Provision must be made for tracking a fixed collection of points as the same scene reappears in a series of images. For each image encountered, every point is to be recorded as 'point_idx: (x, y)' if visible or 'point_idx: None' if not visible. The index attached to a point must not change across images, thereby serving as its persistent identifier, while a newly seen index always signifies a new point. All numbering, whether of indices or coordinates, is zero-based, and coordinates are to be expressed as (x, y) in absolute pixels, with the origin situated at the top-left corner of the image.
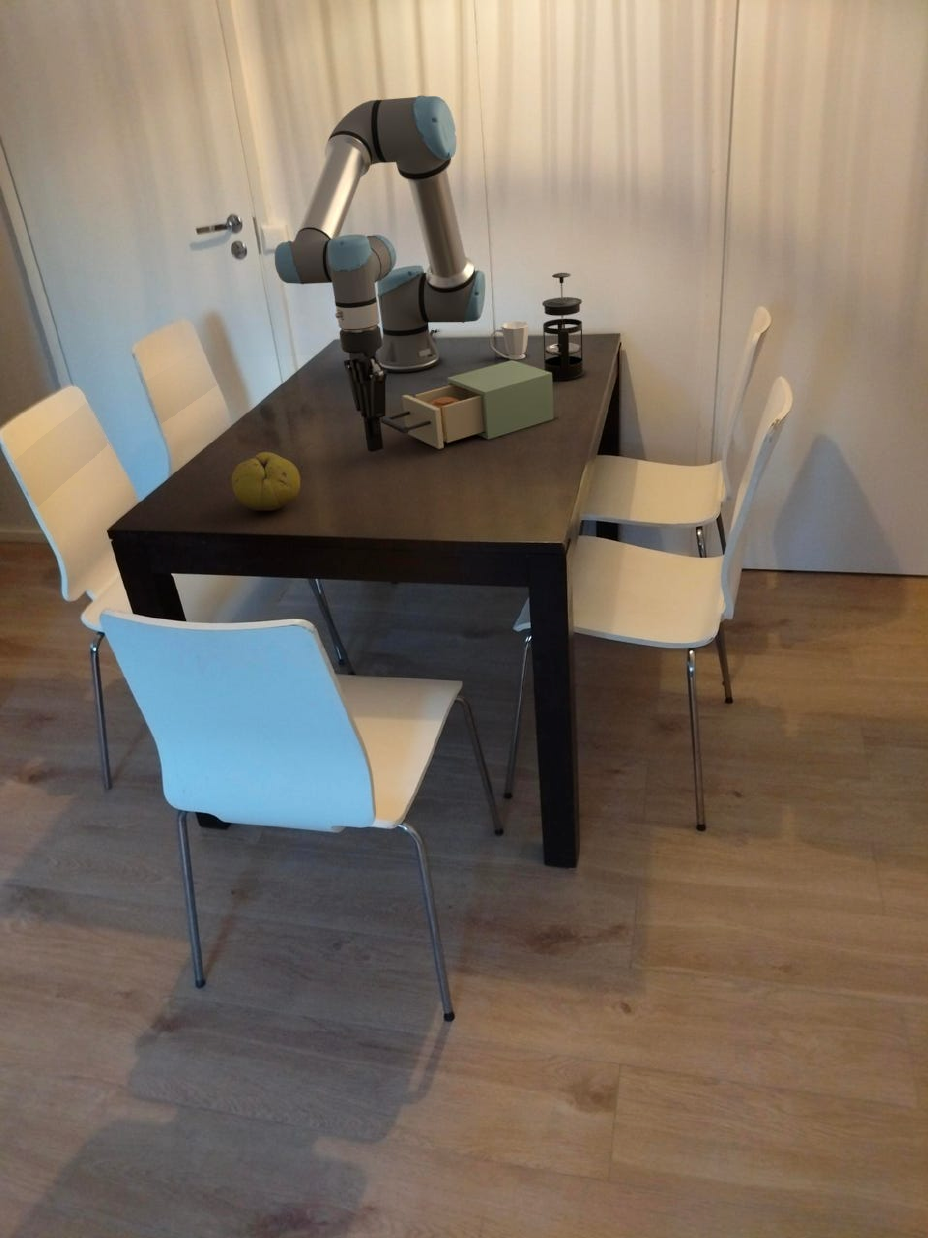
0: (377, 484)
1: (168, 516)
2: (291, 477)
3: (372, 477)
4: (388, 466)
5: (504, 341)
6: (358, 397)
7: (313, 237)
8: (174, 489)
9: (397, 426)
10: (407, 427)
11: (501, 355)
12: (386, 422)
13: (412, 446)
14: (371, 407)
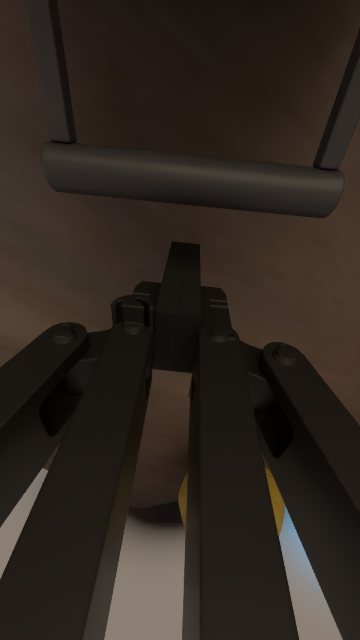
0: (319, 341)
1: (142, 492)
2: (283, 514)
3: (276, 327)
4: (260, 262)
5: None
6: (48, 444)
7: None
8: None
9: (260, 210)
10: (342, 183)
11: None
12: (132, 198)
13: (179, 46)
14: (267, 456)
